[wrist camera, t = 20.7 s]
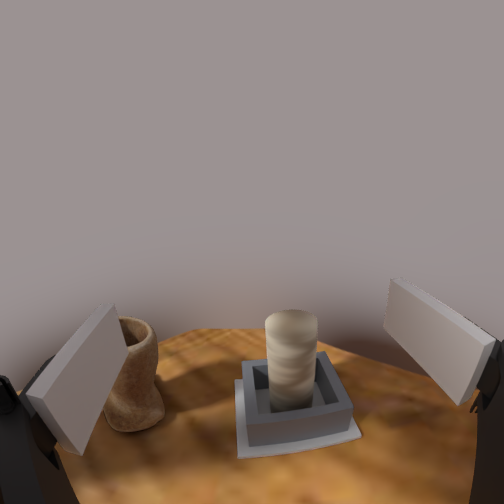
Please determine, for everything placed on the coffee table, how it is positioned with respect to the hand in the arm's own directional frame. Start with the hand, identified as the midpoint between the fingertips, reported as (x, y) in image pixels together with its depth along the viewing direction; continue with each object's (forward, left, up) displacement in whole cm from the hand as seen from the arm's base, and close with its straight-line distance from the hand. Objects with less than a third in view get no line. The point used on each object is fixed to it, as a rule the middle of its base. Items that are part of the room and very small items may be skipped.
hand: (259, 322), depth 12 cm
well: (+5, +17, -25) cm, 31 cm away
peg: (+5, +17, -25) cm, 30 cm away
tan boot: (-19, +20, -25) cm, 37 cm away
